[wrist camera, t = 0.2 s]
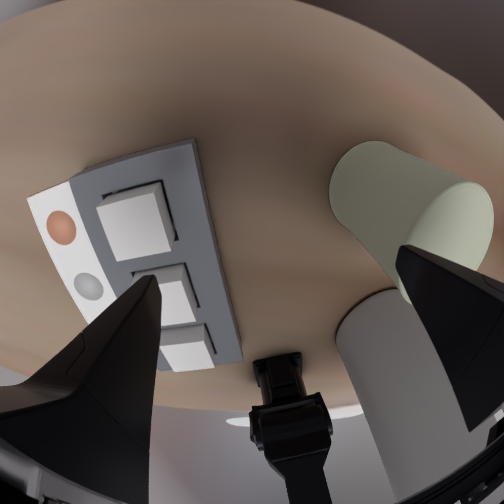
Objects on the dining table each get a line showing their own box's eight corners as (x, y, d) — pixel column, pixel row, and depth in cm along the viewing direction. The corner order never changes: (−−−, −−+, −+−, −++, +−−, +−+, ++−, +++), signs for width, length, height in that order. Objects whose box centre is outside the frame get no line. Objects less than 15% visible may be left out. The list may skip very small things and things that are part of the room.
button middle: (196, 302, 24) (195, 321, 22) (152, 309, 24) (148, 327, 22) (183, 263, 22) (181, 280, 20) (135, 271, 22) (129, 289, 20)
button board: (241, 341, 32) (243, 361, 29) (162, 351, 31) (159, 370, 29) (195, 137, 20) (191, 143, 17) (83, 169, 19) (68, 179, 17)
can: (308, 180, 23) (380, 254, 12) (385, 121, 20) (489, 154, 10) (356, 248, 27) (419, 332, 17) (420, 196, 24) (501, 255, 14)
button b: (214, 349, 28) (214, 367, 26) (175, 354, 28) (174, 372, 26) (203, 322, 26) (203, 340, 24) (161, 328, 26) (158, 346, 24)
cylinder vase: (315, 342, 34) (376, 524, 12) (381, 271, 29) (501, 462, 8) (370, 358, 38) (428, 493, 17) (426, 302, 33) (513, 438, 12)
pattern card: (149, 350, 31) (149, 352, 31) (110, 353, 31) (109, 355, 30) (72, 179, 19) (70, 180, 19) (28, 197, 19) (26, 199, 19)
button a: (175, 235, 21) (171, 251, 19) (125, 245, 21) (116, 261, 19) (160, 181, 18) (153, 192, 16) (107, 195, 18) (95, 207, 16)
